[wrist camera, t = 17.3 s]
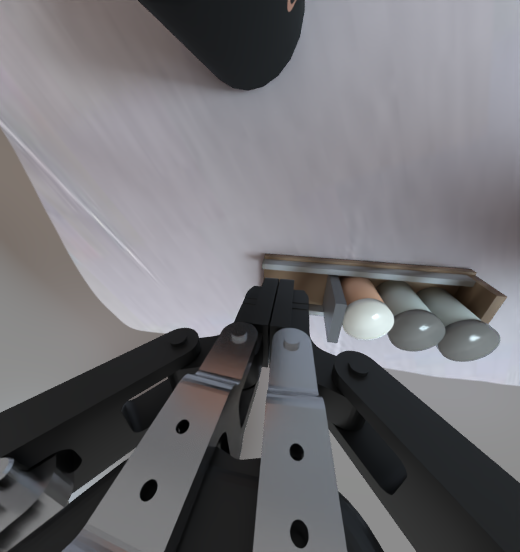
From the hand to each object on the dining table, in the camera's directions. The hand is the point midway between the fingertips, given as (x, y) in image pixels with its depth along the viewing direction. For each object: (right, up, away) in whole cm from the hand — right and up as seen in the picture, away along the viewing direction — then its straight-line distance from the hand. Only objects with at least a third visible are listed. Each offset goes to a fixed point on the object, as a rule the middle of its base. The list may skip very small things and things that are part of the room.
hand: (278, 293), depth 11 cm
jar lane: (+14, -1, +21) cm, 25 cm away
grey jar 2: (+23, -3, +19) cm, 31 cm away
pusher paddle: (+10, -1, +21) cm, 23 cm away
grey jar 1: (+18, -2, +20) cm, 27 cm away
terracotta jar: (+13, -1, +20) cm, 24 cm away
